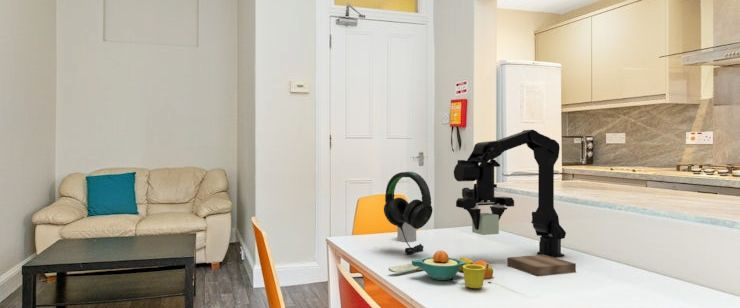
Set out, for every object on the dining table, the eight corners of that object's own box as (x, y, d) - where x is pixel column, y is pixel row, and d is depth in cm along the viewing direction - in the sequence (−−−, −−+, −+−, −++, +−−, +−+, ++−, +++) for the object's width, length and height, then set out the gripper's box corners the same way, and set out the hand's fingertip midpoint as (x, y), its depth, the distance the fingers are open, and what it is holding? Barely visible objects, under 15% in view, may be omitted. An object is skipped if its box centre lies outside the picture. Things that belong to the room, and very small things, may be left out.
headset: (379, 253, 169) (379, 171, 169) (404, 248, 178) (404, 170, 178) (418, 261, 156) (419, 172, 156) (443, 255, 166) (443, 171, 166)
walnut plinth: (543, 262, 155) (543, 254, 155) (575, 272, 142) (575, 263, 142) (507, 265, 150) (507, 257, 150) (537, 276, 137) (537, 267, 137)
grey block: (415, 244, 185) (415, 214, 185) (396, 244, 187) (396, 213, 187) (417, 241, 193) (417, 211, 193) (398, 240, 194) (398, 211, 194)
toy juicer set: (504, 276, 139) (504, 249, 139) (480, 290, 124) (480, 260, 124) (417, 263, 155) (417, 239, 155) (387, 275, 140) (387, 248, 140)
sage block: (487, 231, 158) (487, 213, 158) (498, 233, 153) (498, 215, 153) (472, 232, 156) (472, 213, 156) (482, 235, 150) (482, 215, 150)
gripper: (494, 179, 165) (494, 224, 165) (447, 180, 159) (447, 227, 159) (515, 180, 155) (515, 229, 155) (465, 181, 148) (465, 232, 148)
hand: (485, 229), depth 154 cm, fingers closed on sage block, 6 cm apart
